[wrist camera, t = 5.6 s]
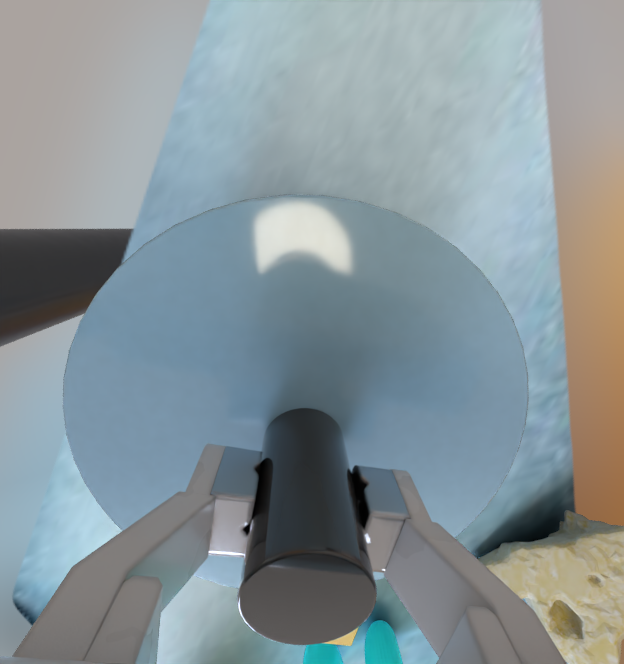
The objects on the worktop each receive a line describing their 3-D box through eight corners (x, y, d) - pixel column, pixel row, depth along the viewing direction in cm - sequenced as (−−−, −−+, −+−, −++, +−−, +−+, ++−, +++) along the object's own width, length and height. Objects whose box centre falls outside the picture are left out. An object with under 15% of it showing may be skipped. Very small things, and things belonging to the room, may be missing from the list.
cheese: (485, 579, 37) (675, 665, 27) (470, 625, 31) (703, 753, 22) (484, 453, 37) (674, 495, 27) (469, 477, 31) (703, 541, 22)
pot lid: (91, 545, 13) (-66, 785, 7) (82, 141, 8) (-361, -36, 3) (428, 578, 14) (510, 796, 9) (579, 256, 10) (941, 293, 4)
